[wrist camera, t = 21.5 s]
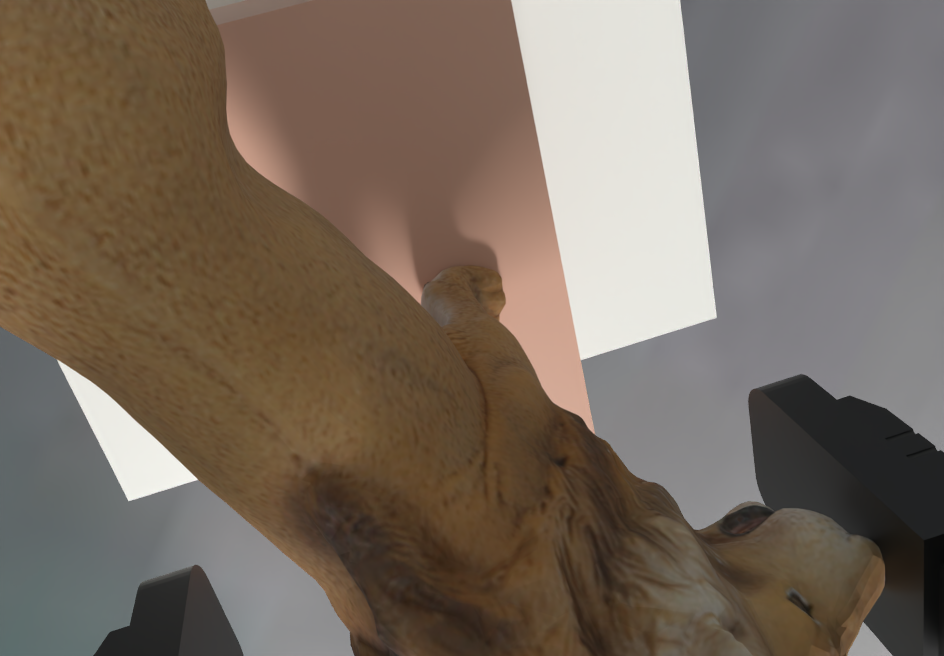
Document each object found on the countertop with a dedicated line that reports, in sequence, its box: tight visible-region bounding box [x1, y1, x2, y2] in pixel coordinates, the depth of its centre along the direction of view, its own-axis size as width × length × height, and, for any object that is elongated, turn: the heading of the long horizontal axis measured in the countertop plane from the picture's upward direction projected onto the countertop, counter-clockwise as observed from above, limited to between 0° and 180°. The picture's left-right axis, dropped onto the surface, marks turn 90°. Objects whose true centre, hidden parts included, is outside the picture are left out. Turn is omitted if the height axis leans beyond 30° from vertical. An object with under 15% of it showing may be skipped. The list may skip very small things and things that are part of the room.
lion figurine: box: [0, 0, 885, 656], centre depth 10 cm, size 15×5×9 cm, turn 47°
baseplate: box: [57, 0, 717, 501], centre depth 20 cm, size 16×12×1 cm
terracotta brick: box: [209, 0, 595, 434], centre depth 17 cm, size 6×9×6 cm, turn 13°
